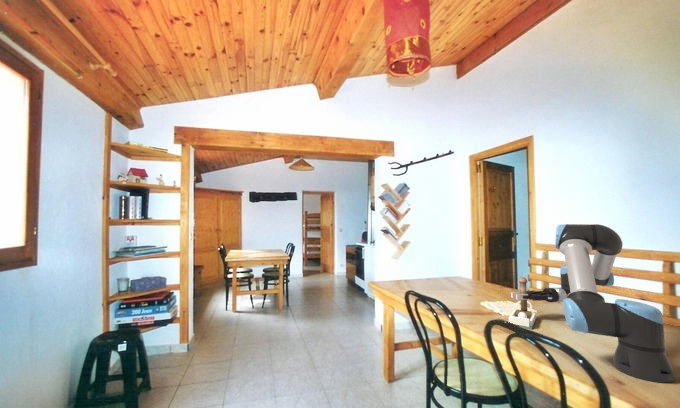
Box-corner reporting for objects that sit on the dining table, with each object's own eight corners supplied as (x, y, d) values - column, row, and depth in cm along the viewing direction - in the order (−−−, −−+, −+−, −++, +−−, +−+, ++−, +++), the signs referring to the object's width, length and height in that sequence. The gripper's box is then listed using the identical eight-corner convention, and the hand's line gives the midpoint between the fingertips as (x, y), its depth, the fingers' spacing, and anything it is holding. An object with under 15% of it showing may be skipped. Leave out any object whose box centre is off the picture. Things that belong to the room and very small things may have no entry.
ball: (526, 321, 153) (526, 313, 154) (517, 320, 156) (517, 312, 156) (527, 319, 157) (527, 312, 157) (518, 318, 159) (518, 310, 159)
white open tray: (531, 329, 145) (531, 319, 146) (508, 325, 151) (507, 316, 152) (536, 319, 161) (535, 310, 161) (514, 315, 167) (514, 307, 167)
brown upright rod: (531, 318, 157) (529, 278, 159) (516, 316, 161) (514, 277, 163) (532, 316, 161) (530, 277, 163) (517, 314, 165) (516, 276, 167)
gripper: (566, 305, 156) (525, 307, 154) (542, 298, 172) (504, 299, 170) (566, 291, 157) (524, 292, 154) (541, 285, 173) (504, 286, 170)
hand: (514, 296), depth 162 cm, fingers closed on brown upright rod, 3 cm apart
